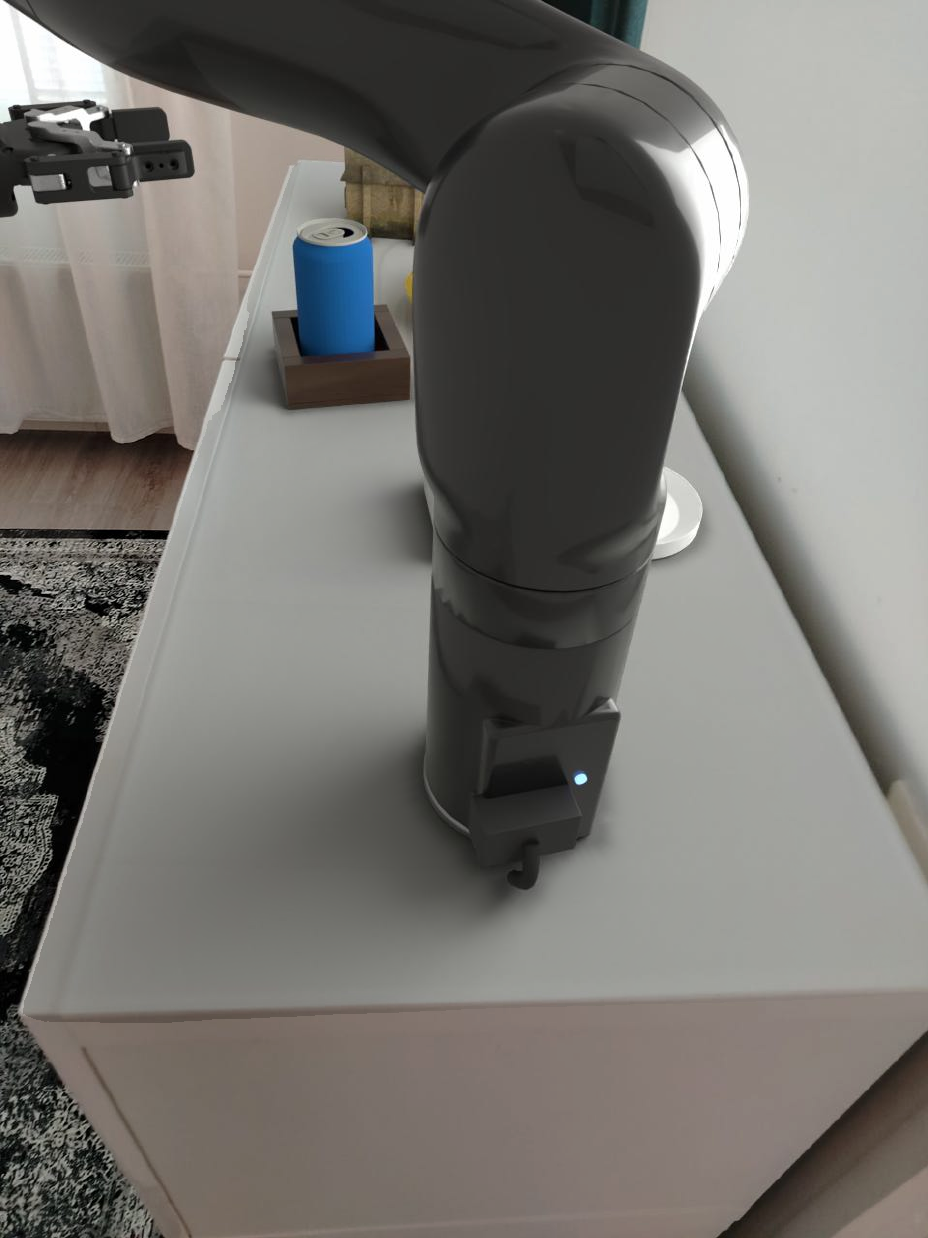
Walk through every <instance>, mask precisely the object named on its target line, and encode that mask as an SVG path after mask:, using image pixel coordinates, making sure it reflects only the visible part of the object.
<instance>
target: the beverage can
mask: <svg viewBox="0 0 928 1238" xmlns="http://www.w3.org/2000/svg"><path fill="white" fill-rule="evenodd" d="M291 247H292V258H293V259H292V260H293V271H294V285H295V297H296V310H297V312H298V324H299V337H300V350H301V357H304V356H318V355H332V354H346V353H359V352H373V351H375V334H374V305H375V289H374V287H375V285H374V280H375V279H374V245H373V243H372V241H371V240H370V239H369V238H368V237H367V229H366V227H365V226H363V225H362V224H360V223H358V222H355V221H352V220H348V219H347V218H340V217H322V218H315V219H311V220H307V221H304V222H302V223H301V224H299V225H298V227H297V228H296V237H295V239H294V240H293V243H292V246H291Z"/></svg>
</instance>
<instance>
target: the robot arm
mask: <svg viewBox="0 0 928 1238" xmlns="http://www.w3.org/2000/svg"><path fill="white" fill-rule="evenodd" d="M2 1H3V2H5V3H6V4H7V5H9V6H10V7H12V8H13V9H14V10H16V11H18V12H19V13H21V14H22V15H23V16H25V17H27V18H28V19H30V20H31V21H32V22H34V23H36V24H37V25H38V26H40V27H41V28H43V29H44V30H46V31H47V32H49V33H50V34H52V35H53V36H55V37H56V38H58V39H59V40H61V41H63V42H64V43H66V44H68V45H69V46H71V47H73V48H74V49H76V50H78V51H80V52H81V53H83V54H85V55H87V56H88V57H90V58H91V59H93V60H96V61H97V62H98V63H100V64H102V65H104V66H107V67H108V68H110V69H112V70H114V71H115V72H119V73H121V74H122V75H126V76H128V77H130V78H132V79H135V80H138V81H140V82H143V83H146V84H149V85H152V86H153V87H157V88H159V89H162V90H165V91H168V92H171V93H173V94H177V95H179V96H183V97H186V98H189V99H194V100H196V101H200V102H202V103H206V104H208V105H209V104H210V105H212V106H215V107H218V108H223V109H225V110H229V111H232V112H236V113H239V114H243V115H246V116H248V117H249V116H250V117H253V118H256V119H260V120H262V121H267V122H271V123H274V124H278V125H281V126H285V127H288V128H291V129H294V130H297V131H301V132H303V133H307V134H310V135H313V136H317V137H320V138H323V139H325V140H327V141H330V142H332V143H335V144H337V145H340V146H342V147H347V148H349V149H351V150H353V151H355V152H357V153H359V154H361V155H363V156H365V157H366V158H368V159H370V160H372V161H374V162H376V163H377V164H379V165H381V166H382V167H384V168H386V169H387V170H389V171H390V172H392V173H394V174H395V175H397V176H399V177H400V178H402V179H403V180H405V181H406V182H408V183H409V184H410V185H412V186H413V187H415V188H416V189H418V190H419V191H421V192H422V193H424V194H425V196H424V199H423V203H422V207H421V211H420V215H419V220H418V225H417V232H416V239H415V245H413V258H412V270H411V272H412V305H411V319H412V320H411V324H412V325H411V326H412V327H411V329H412V357H413V358H412V359H413V360H412V361H413V363H412V364H413V390H414V421H415V422H414V424H415V439H416V449H417V454H418V459H419V464H420V466H421V470H422V473H423V476H424V475H425V478H426V480H427V483H428V485H429V487H430V489H431V490H432V493H433V495H434V523H433V525H432V554H431V555H432V556H431V557H432V558H431V575H430V576H431V577H430V578H431V579H430V605H429V606H430V608H429V636H428V640H429V641H428V667H427V671H428V672H427V696H426V726H425V727H426V728H425V729H426V739H425V740H426V741H425V752H424V755H423V756H424V758H423V770H422V773H423V774H422V775H423V776H422V777H423V783H424V789H425V792H426V795H427V798H428V800H429V802H430V804H431V806H432V807H433V809H434V810H435V811H436V813H437V815H439V816H440V818H441V819H442V820H443V821H444V822H445V823H447V825H448V826H450V827H451V828H452V829H454V830H455V831H457V832H458V833H459V834H460V835H462V836H464V837H466V838H468V839H469V840H470V842H471V844H472V845H473V849H474V852H475V856H476V859H477V862H478V865H479V868H481V869H482V868H483V869H484V868H488V867H493V866H496V865H501V864H502V865H503V864H507V863H511V862H517V861H522V862H521V863H522V864H521V870H519V869H515V868H513V869H511V870H509V871H508V873H507V875H506V880H507V883H509V885H510V886H513V887H515V888H516V889H519V890H522V891H528V890H530V889H532V888H534V886H535V885H536V882H537V880H538V878H539V874H540V857H542V856H546V855H551V854H556V853H561V852H566V851H570V850H574V849H575V847H576V843H577V839H578V838H579V839H580V838H582V837H583V838H584V837H587V836H590V835H591V834H592V833H593V829H594V826H595V825H594V824H595V821H596V816H597V813H598V810H599V805H600V801H601V798H602V793H603V790H604V785H605V782H606V779H607V774H608V770H609V767H610V764H611V763H610V762H611V760H612V755H613V751H614V748H615V747H614V746H615V743H616V740H617V735H618V732H619V727H620V723H621V719H622V713H621V710H620V709H619V706H618V705H617V701H618V697H619V692H620V690H621V689H620V688H621V685H622V681H623V676H624V672H625V669H626V664H627V661H628V655H629V652H630V648H631V645H632V641H633V640H632V639H633V635H634V631H635V628H636V624H637V620H638V616H639V611H640V607H641V604H642V600H643V597H644V592H645V588H646V586H647V585H646V584H647V580H648V576H649V573H650V567H651V564H652V560H653V559H652V556H653V552H654V548H655V545H656V542H657V538H658V534H659V530H660V526H661V522H662V518H663V514H664V510H665V505H666V500H667V483H666V478H665V474H664V472H663V467H664V466H665V462H666V458H667V454H668V449H669V444H670V441H671V436H672V432H673V427H674V423H675V418H676V415H677V409H678V406H679V405H678V404H679V400H680V397H681V391H682V388H683V383H684V379H685V375H686V370H687V367H688V363H689V358H690V355H691V352H692V347H693V344H694V339H695V337H696V332H697V329H698V325H699V322H700V320H701V318H702V317H703V315H704V313H705V311H706V310H707V308H708V307H709V305H710V304H711V302H712V301H713V298H714V297H715V295H716V294H717V292H718V290H719V289H720V288H721V285H722V284H723V282H724V280H725V278H726V277H727V275H728V273H729V271H730V270H731V268H732V266H733V265H734V263H735V260H736V258H737V257H738V254H739V252H740V249H741V246H742V244H743V241H744V239H745V235H746V230H747V226H748V220H749V214H750V181H749V175H748V169H747V164H746V161H745V157H744V154H743V151H742V149H741V148H742V147H741V145H740V143H739V141H738V138H737V136H736V134H735V132H734V131H733V128H732V126H731V125H730V123H729V122H728V120H727V118H726V116H725V114H724V113H723V111H722V110H721V109H720V107H719V106H718V104H716V102H715V101H714V100H713V98H711V96H709V94H708V93H706V91H705V90H704V89H703V88H702V87H701V86H699V85H698V84H697V83H696V82H695V81H693V80H692V79H691V78H689V76H687V75H685V74H684V73H682V72H681V71H679V70H678V69H676V68H675V67H673V66H671V65H669V64H668V63H666V62H664V61H662V60H660V59H658V58H656V57H654V56H653V55H651V54H649V53H647V52H645V51H643V50H641V49H638V48H636V47H635V46H632V45H630V44H629V43H626V42H625V41H622V40H620V39H618V38H616V37H614V36H612V35H610V34H608V33H606V32H604V31H602V30H600V29H598V28H596V27H594V26H592V25H590V24H588V23H586V22H584V21H582V20H580V19H578V18H576V17H574V16H572V15H570V14H567V13H566V12H564V11H562V10H560V9H558V8H556V7H554V6H552V5H550V4H548V3H546V2H544V1H543V0H2ZM7 110H8V114H9V117H10V120H9V121H8V120H7V121H3V122H0V219H1V218H11V217H15V216H16V215H17V214H18V212H19V204H18V200H17V198H16V194H15V190H14V189H15V187H18V186H22V187H31V192H32V195H33V198H34V202H35V204H38V205H44V206H46V205H50V204H64V203H65V204H66V203H77V202H91V201H92V202H93V201H103V200H117V199H123V200H125V199H126V200H127V199H129V198H131V197H133V196H134V195H135V194H134V189H135V188H137V187H139V186H140V183H148V182H159V181H171V180H181V179H190V178H192V177H194V175H195V173H196V172H195V171H196V168H195V161H194V155H193V154H194V153H193V149H192V146H191V145H190V144H189V142H188V141H187V140H185V139H170V138H171V133H170V127H169V122H168V116H167V113H166V111H165V110H164V109H163V108H162V107H160V106H149V107H147V106H146V107H135V108H134V107H133V108H132V107H131V108H119V109H117V108H115V109H110V108H109V107H108V106H105V105H103V104H97V102H96V101H95V100H91V99H83V100H74V101H61V102H50V103H49V102H48V103H47V102H46V103H36V104H33V103H32V104H13V105H12V106H9V107H7ZM110 111H111V112H110Z"/></svg>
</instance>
